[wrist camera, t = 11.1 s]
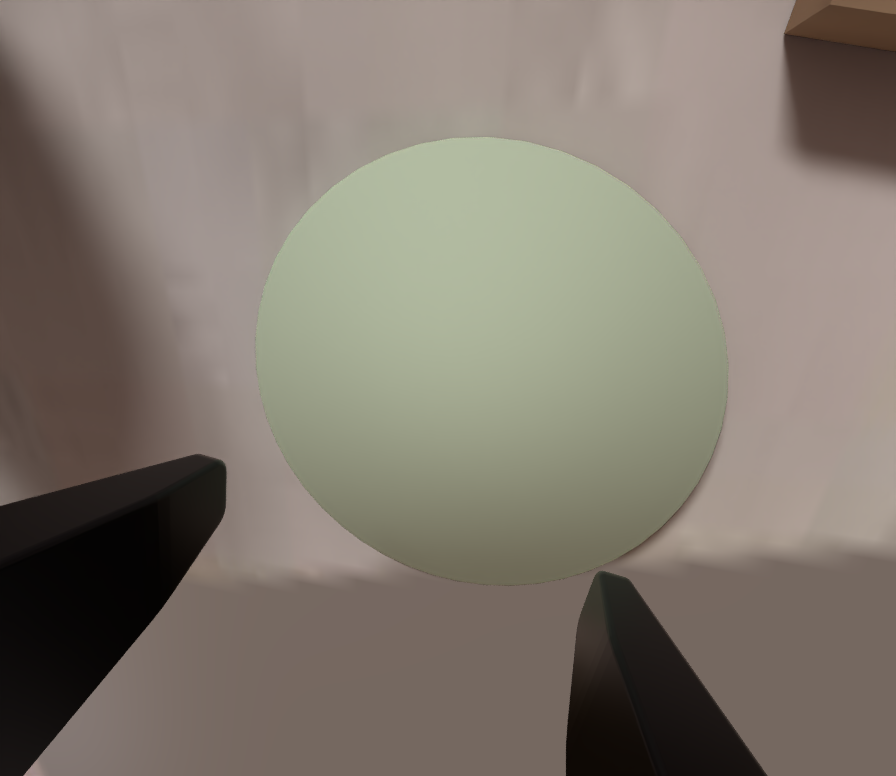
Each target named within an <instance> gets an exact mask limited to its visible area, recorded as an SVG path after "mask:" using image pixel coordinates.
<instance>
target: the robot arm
mask: <svg viewBox="0 0 896 776" xmlns="http://www.w3.org/2000/svg"><path fill="white" fill-rule="evenodd" d="M226 475H227V471H226V466H225V464H224V462H223V461H221V460H219V459H216V458H212V457H209V456H205V455H201V454H195V455H191V456H187V457H183V458H180V459H176V460H172V461H168V462H165V463H161V464H157V465H153V466H149V467H146V468H142V469H138V470H134V471H131V472H127V473H123V474H119V475H115V476H112V477H108V478H104V479H100V480H97V481H93V482H89V483H85V484H81V485H78V486H74V487H70V488H66V489H63V490H59V491H55V492H51V493H48V494H44V495H40V496H36V497H32V498H29V499H25V500H21V501H17V502H14V503H10V504H6V505H2V506H0V776H23V775H24V774H25V773H26V772H27V771H28V769H29V768H30V767H31V766H32V765H33V763H34V762H35V761H36V760H37V759H38V757H39V756H40V755H41V754H42V753H43V751H44V750H45V749H46V748H47V746H48V745H49V744H50V743H51V742H52V740H53V739H54V738H55V737H56V736H57V734H58V733H59V732H60V731H61V730H62V728H63V727H64V726H65V725H66V724H67V722H68V721H69V720H70V719H71V718H72V716H73V715H74V714H75V713H76V712H77V710H78V709H79V708H80V707H81V706H82V704H83V703H84V702H85V701H86V700H87V698H88V697H89V696H90V695H91V694H92V692H93V691H94V690H95V689H96V688H97V686H98V685H99V684H100V683H101V682H102V680H103V679H104V678H105V677H106V676H107V674H108V673H109V672H110V671H111V670H112V668H113V667H114V666H115V665H116V664H117V662H118V661H119V660H120V659H121V657H122V656H123V655H124V654H125V653H126V651H127V650H128V649H129V648H130V647H131V645H132V644H133V643H134V642H135V640H136V639H137V638H138V637H139V636H140V634H141V633H142V632H143V631H144V630H145V629H146V627H147V626H148V625H149V624H150V623H151V621H152V620H153V619H154V618H155V616H156V615H157V614H158V613H159V611H160V610H161V609H162V607H163V606H164V605H165V603H166V602H167V600H168V599H169V598H170V596H171V595H172V593H173V592H174V590H175V589H176V587H177V586H178V584H179V583H180V582H181V580H182V579H183V577H184V576H185V574H186V573H187V571H188V570H189V568H190V567H191V565H192V564H193V562H194V561H195V559H196V558H197V556H198V555H199V553H200V552H201V550H202V549H203V547H204V546H205V544H206V543H207V541H208V540H209V538H210V537H211V535H212V534H213V532H214V531H215V530H216V528H217V527H218V525H219V523H220V522H221V520H222V518H223V515H224V512H225V508H226ZM566 739H567V740H566V776H767V774H766V773H765V772H764V770H763V769H762V767H761V766H760V764H759V763H758V762H757V760H756V759H755V757H754V756H753V754H752V753H751V752H750V750H749V749H748V747H747V746H746V745H745V743H744V742H743V740H742V739H741V737H740V736H739V735H738V733H737V732H736V730H735V729H734V727H733V726H732V725H731V723H730V722H729V720H728V719H727V717H726V716H725V715H724V713H723V712H722V710H721V709H720V708H719V706H718V705H717V703H716V702H715V700H714V699H713V698H712V696H711V695H710V693H709V692H708V690H707V689H706V688H705V686H704V685H703V683H702V682H701V681H700V679H699V678H698V676H697V675H696V673H695V672H694V670H693V669H692V668H691V666H690V665H689V663H688V662H687V661H686V659H685V658H684V656H683V655H682V654H681V652H680V651H679V649H678V648H677V646H676V645H675V643H674V642H673V641H672V639H671V638H670V636H669V635H668V633H667V632H666V631H665V629H664V628H663V626H662V625H661V624H660V622H659V621H658V619H657V618H656V616H655V615H654V614H653V612H652V611H651V609H650V608H649V606H648V605H647V604H646V602H645V601H644V599H643V598H642V597H641V595H640V594H639V592H638V591H637V590H636V588H635V587H634V585H633V584H632V582H631V581H630V580H629V579H627V578H625V577H622V576H619V575H615V574H612V573H609V572H605V571H599V572H598V573H597V574H596V575H595V577H594V579H593V582H592V585H591V587H590V590H589V593H588V595H587V598H586V601H585V603H584V606H583V609H582V611H581V614H580V618H579V622H578V627H577V634H576V644H575V654H574V664H573V674H572V684H571V695H570V705H569V714H568V725H567V738H566Z"/></svg>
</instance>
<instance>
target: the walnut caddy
mask: <svg viewBox="0 0 896 776" xmlns="http://www.w3.org/2000/svg"><path fill="white" fill-rule="evenodd" d="M784 34H788V35H795V36H801V37H807V38H813V39H820V40H826V41H832V42H838V43H844V44H851V45H857V46H863V47H869V48H876V49H882V50H888V51H894V52H896V0H796V3H795V5H794V8H793V11H792V14H791V16H790V19H789V22H788V25H787V27H786V30H785V33H784Z"/></svg>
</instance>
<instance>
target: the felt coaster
mask: <svg viewBox="0 0 896 776" xmlns="http://www.w3.org/2000/svg"><path fill="white" fill-rule="evenodd" d="M255 343H256V370H257V376H258V383H259V390H260V395H261V399H262V402H263V406H264V409H265V413H266V417H267V420H268V422H269V425H270V427H271V430H272V432H273V435H274V437H275V440H276V442H277V444H278V446H279V448H280V450H281V451H282V453H283V455H284V457H285V459H286V461H287V463H288V464H289V466H290V468H291V469H292V470H293V472H294V473H295V475H296V476H297V478H298V479H299V481H300V482H301V483H302V485H303V486H304V488H305V489H306V490H307V491H308V492H309V493H310V495H311V496H312V497H313V498H314V499H315V500H316V502H317V503H318V504H319V505H320V506H321V507H322V508H323V509H324V510H325V511H326V512H327V513H328V514H329V515H330V516H331V517H332V518H333V519H335V520H336V521H337V522H338V523H339V524H340V525H341V526H342V527H344V528H345V529H346V530H348V531H349V532H350V533H352V534H353V535H354V536H355V537H357V538H358V539H359V540H361V541H362V542H364V543H366V544H367V545H369V546H370V547H372V548H374V549H375V550H377V551H379V552H380V553H382V554H384V555H386V556H388V557H390V558H392V559H394V560H396V561H398V562H400V563H402V564H404V565H407V566H409V567H412V568H415V569H417V570H420V571H423V572H426V573H429V574H431V575H435V576H439V577H443V578H447V579H451V580H455V581H460V582H468V583H475V584H483V585H504V586H513V585H526V584H539V583H544V582H549V581H555V580H560V579H565V578H568V577H571V576H574V575H578V574H581V573H584V572H587V571H590V570H593V569H595V568H597V567H599V566H602V565H604V564H606V563H608V562H611V561H613V560H615V559H617V558H618V557H620V556H622V555H623V554H625V553H627V552H628V551H630V550H632V549H633V548H635V547H637V546H638V545H640V544H641V543H642V542H643V541H645V540H646V539H647V538H648V537H650V536H651V535H652V534H653V533H655V532H656V531H657V530H658V529H660V528H661V527H662V526H663V525H664V524H665V523H666V522H667V521H668V520H669V519H670V518H671V517H672V515H673V514H674V513H675V512H676V511H677V510H678V509H679V508H680V507H681V506H682V504H683V503H684V502H685V500H686V499H687V498H688V496H689V495H690V493H691V492H692V491H693V489H694V488H695V486H696V485H697V484H698V482H699V480H700V478H701V476H702V474H703V472H704V470H705V469H706V467H707V465H708V463H709V461H710V459H711V457H712V454H713V451H714V449H715V446H716V443H717V440H718V437H719V434H720V431H721V428H722V423H723V418H724V413H725V407H726V402H727V393H728V358H727V349H726V341H725V333H724V329H723V325H722V322H721V318H720V315H719V311H718V308H717V304H716V300H715V298H714V296H713V293H712V291H711V289H710V287H709V285H708V282H707V280H706V278H705V276H704V274H703V271H702V269H701V267H700V265H699V264H698V262H697V261H696V259H695V258H694V256H693V255H692V253H691V252H690V250H689V249H688V247H687V245H686V244H685V242H684V241H683V239H682V238H681V236H680V235H679V234H678V233H677V232H676V231H675V230H674V229H673V227H672V226H671V225H670V224H669V223H668V222H667V221H666V220H665V218H664V217H663V216H662V215H661V214H660V213H659V212H658V210H657V209H655V208H654V207H653V206H652V205H651V204H649V203H648V202H647V201H646V200H645V199H644V198H642V197H641V196H640V195H639V194H638V193H636V192H635V191H634V190H633V189H632V188H630V187H629V186H628V185H626V184H625V183H623V182H621V181H620V180H618V179H617V178H615V177H613V176H612V175H610V174H609V173H607V172H605V171H604V170H602V169H600V168H599V167H597V166H595V165H593V164H591V163H588V162H586V161H584V160H581V159H579V158H577V157H574V156H572V155H570V154H567V153H565V152H563V151H560V150H556V149H552V148H548V147H545V146H541V145H537V144H534V143H530V142H526V141H518V140H510V139H502V138H493V137H474V138H451V139H445V140H439V141H434V142H428V143H422V144H418V145H415V146H412V147H409V148H406V149H403V150H399V151H396V152H393V153H390V154H387V155H385V156H383V157H381V158H379V159H377V160H375V161H373V162H371V163H369V164H367V165H365V166H363V167H361V168H359V169H357V170H356V171H355V172H353V173H352V174H350V175H349V176H347V177H346V178H345V179H343V180H342V181H340V182H339V183H337V184H336V185H335V186H333V187H332V188H331V189H330V190H328V191H327V192H326V193H325V194H324V195H323V196H322V197H321V198H320V199H319V200H318V201H317V202H316V203H315V204H314V205H313V206H312V207H311V208H309V210H308V211H307V212H306V213H305V215H304V216H303V217H302V218H301V220H300V221H299V222H298V224H297V225H296V226H295V227H294V229H293V230H292V231H291V232H290V234H289V236H288V238H287V239H286V241H285V243H284V245H283V246H282V248H281V250H280V252H279V253H278V255H277V257H276V259H275V261H274V264H273V266H272V269H271V271H270V274H269V276H268V279H267V281H266V284H265V287H264V291H263V295H262V299H261V303H260V307H259V311H258V320H257V329H256V338H255Z"/></svg>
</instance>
